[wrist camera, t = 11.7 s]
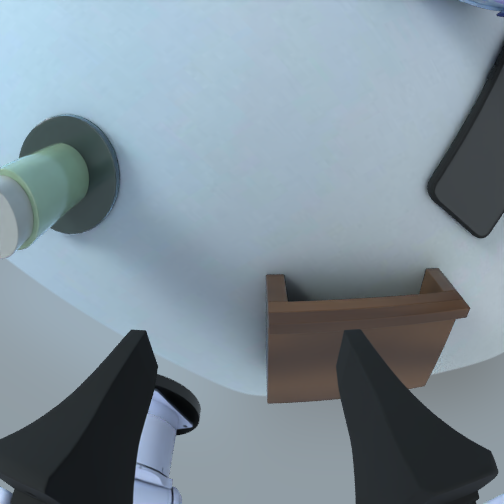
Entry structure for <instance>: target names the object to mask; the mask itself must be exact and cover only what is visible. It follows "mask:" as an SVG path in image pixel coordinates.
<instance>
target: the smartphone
mask: <svg viewBox="0 0 504 504" xmlns="http://www.w3.org/2000/svg"><path fill="white" fill-rule="evenodd" d="M428 193H429V195H430V197H431V198H432V200H433V201H434V202H435V203H436V204H438V205H439V206H440V207H441V208H442V209H444V210H445V211H446V212H447V213H448V214H449V215H451V216H452V217H453V218H454V219H456V220H457V221H458V222H459V223H460V224H461V225H462V226H463V227H464V228H465V229H467V230H468V231H469V232H470V233H471V234H472V235H473V236H475V237H477V238H485V237H486V236H488V235H489V234H490V232H491V231H492V229H493V228H494V226H495V225H496V223H497V222H498V220H499V219H500V217H501V216H502V214H503V213H504V46H503V48H502V52H501V54H499V57H498V59H497V61H496V63H495V66H494V68H493V69H492V71H491V73H490V75H489V77H488V80H487V82H486V84H485V86H484V88H483V90H482V92H481V94H480V96H479V98H478V100H477V101H476V103H475V105H474V107H473V109H472V110H471V112H470V114H469V116H468V118H467V119H466V121H465V123H464V125H463V126H462V128H461V130H460V132H459V133H458V135H457V137H456V138H455V140H454V142H453V143H452V145H451V147H450V148H449V150H448V152H447V153H446V155H445V156H444V158H443V160H442V161H441V163H440V164H439V166H438V168H437V169H436V171H435V172H434V174H433V175H432V177H431V179H430V181H429V183H428Z"/></svg>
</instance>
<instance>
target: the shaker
mask: <svg viewBox="0 0 504 504" xmlns="http://www.w3.org/2000/svg"><path fill="white" fill-rule="evenodd" d="M88 186H89V172H88V168H87V165H86V162H85V160H84V159H83V157H82V156H81V154H80V153H79V152H78V151H77V150H76V149H75V148H73V147H71V146H70V145H67V144H63V143H56V144H52V145H49V146H47V147H45V148H42V149H40V150H37V151H35V152H33V153H30V154H28V155H26V156H23V157H21V158H19V159H17V160H15V161H13V162H10V163H8V164H6V165H4V166H2V167H0V258H7V257H9V256H11V255H12V254H13V253H14V252H15V251H16V250H23V249H26V248H28V247H29V246H30V245H32V244H33V243H34V242H35V241H36V240H37V239H38V238H39V237H40V236H42V235H43V234H44V233H45V232H46V231H47V230H48V229H50V228H51V227H52V226H53V225H54V224H55V223H56V222H58V221H59V220H60V219H61V218H62V217H64V216H65V215H66V214H67V213H68V212H70V211H71V210H72V209H73V208H74V207H76V206H77V205H78V204H79V203H80V202H81V201H82V200H83V199H84V197H85V195H86V193H87V191H88Z"/></svg>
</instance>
